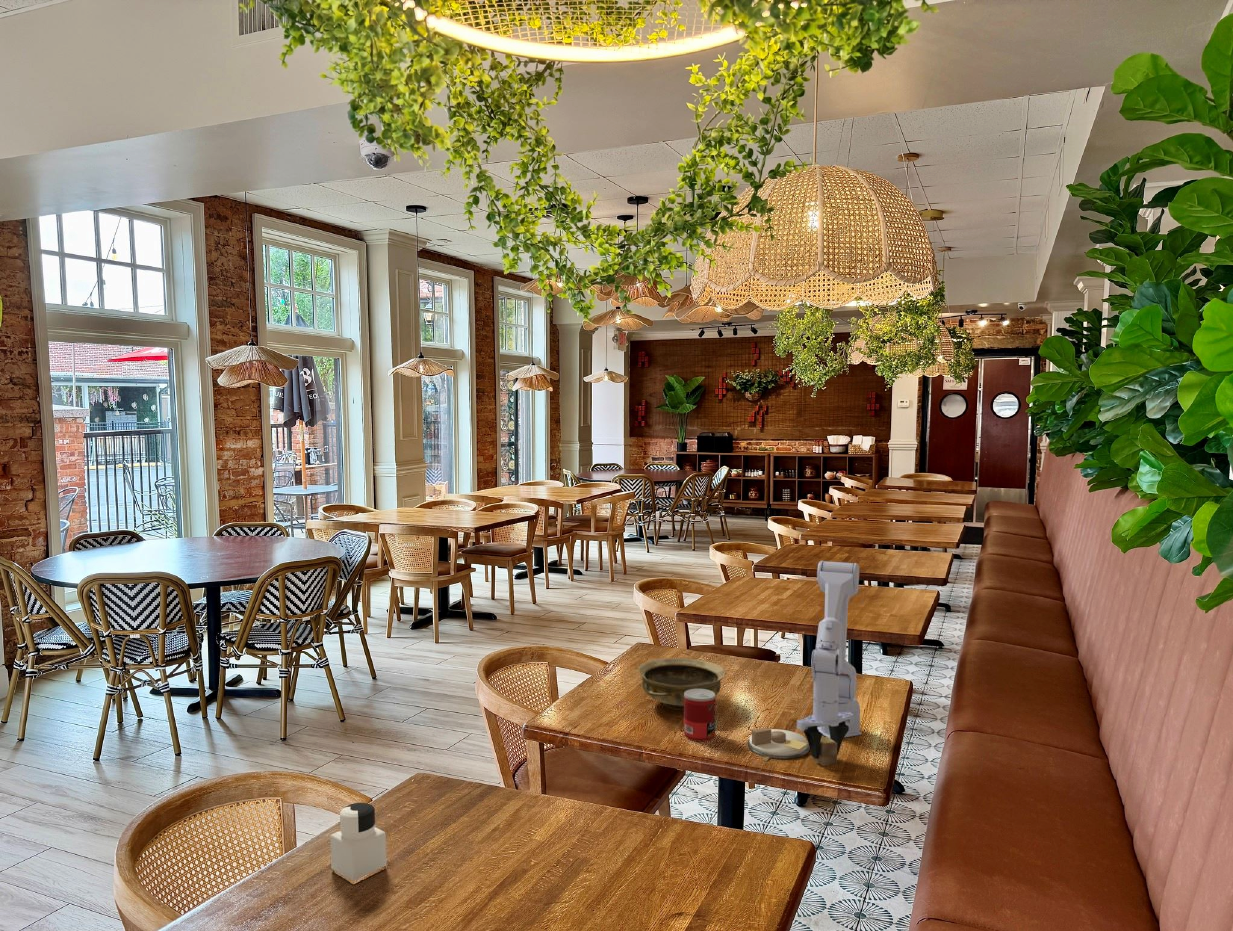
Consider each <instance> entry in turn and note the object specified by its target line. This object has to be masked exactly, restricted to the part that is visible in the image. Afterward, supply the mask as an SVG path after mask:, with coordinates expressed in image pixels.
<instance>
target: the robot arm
mask: <svg viewBox="0 0 1233 931" xmlns="http://www.w3.org/2000/svg"><path fill="white" fill-rule="evenodd" d="M816 570H817V571H816V577H817V579H816V580H817V583H818V586H819V589H820V591H821V593H822V592H823V593H824V594H825V595H824V617H823V619H822V620H820V621H819V623H818V627H817V634H816V643H815V649H813V650H812V652H811V660H810V661H811V664H810V666H811V670H812V671H811V672H812V675H811V677H812V678H811V679H812V681H813V694H812V696H813V700H812V701H813V702H812V703H813V707H812V715H809V716H807V717H804V718H801V719H797V720H796V729H798V731H801V732H803V733H804V735H805V739H806V740H807V743H808V745H809V752H810V756H811V758H813V757H814V758H815V759H819V751H820V741H821V738H822V737H829V738H830V739H832V740H834V741H835V742H837V756H838V755H839V752H840V749H841V746H842V743H843V740H844V738H850V737H855V736H861V735H863V732H861V730H860V729H861V707H860V703H859V701H858V700H857V698H856V696H857V680H858V679H857V670H856V668H855V667H854V666H853V665H852V664H851V663H850V662H849V661H847V660H846V659H847V658H846V657H847V638H848V637H847V634H848V632H847V631H848V611H849V608H848V607H849V602H850V599H851V597H852V596H855V595H857V594H858V592H859V581H860V566H859V564H858V562H852V563H851V562H839V561H824V560H820V561H819V562H818V563H817V569H816Z"/></svg>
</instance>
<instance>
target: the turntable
mask: <svg viewBox="0 0 1233 931" xmlns="http://www.w3.org/2000/svg"><path fill="white" fill-rule="evenodd" d="M748 740H749V743H750V746H751V747H752V748H753V749H754V750H756V751H758V752H760V753H763V754H767V755H772V756H783V757H784V756H795V755H799V754H801V753H803V752H805V751H806V750H807V743H808V740H807V738H806V737H804V736H803V735H802V734H800V733H798V732H795V731H790V730H786V729H777V728H776V729H775V728H773V729H772V728H769V727H763V728H755V729H752V730H751V735H749V739H748Z"/></svg>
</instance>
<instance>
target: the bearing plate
mask: <svg viewBox="0 0 1233 931" xmlns="http://www.w3.org/2000/svg"><path fill="white" fill-rule="evenodd" d="M746 745H747V748H748V749H749V750H750V751H751V752H753V753H754V754H757V755H759V756H762V757H765V756H767V757H770V759H774V760H775V759H777V760H790V759H797V758H801V757H803V756H806V755H807V754H808V753H809V752H810V747H809V743H808V742H807V750H806V751H805V752H803V753H801V754H799V755H795V756H784V757H783V756H772V755H767V754H763V753H760V752H758V751H756V750H754V749H753V748H752V747H751V746H750V743H749V739H748V740H747V744H746Z"/></svg>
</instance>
